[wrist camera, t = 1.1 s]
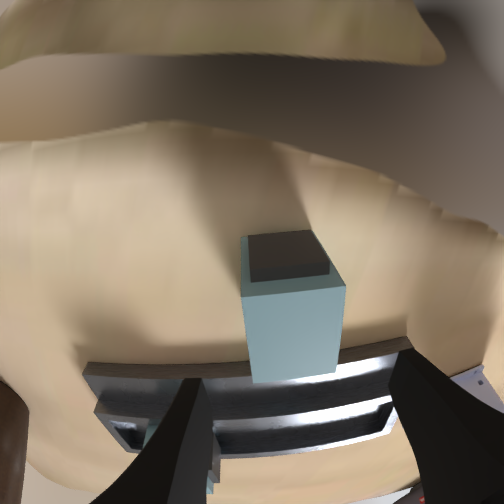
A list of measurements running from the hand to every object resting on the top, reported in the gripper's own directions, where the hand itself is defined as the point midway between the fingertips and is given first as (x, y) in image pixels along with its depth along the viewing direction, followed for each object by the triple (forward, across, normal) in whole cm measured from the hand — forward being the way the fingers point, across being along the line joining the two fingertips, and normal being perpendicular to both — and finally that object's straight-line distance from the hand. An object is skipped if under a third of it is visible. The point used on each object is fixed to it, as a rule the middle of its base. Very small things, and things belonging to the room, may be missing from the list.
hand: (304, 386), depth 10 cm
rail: (+8, +3, +14) cm, 17 cm away
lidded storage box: (+8, 0, 0) cm, 8 cm away
